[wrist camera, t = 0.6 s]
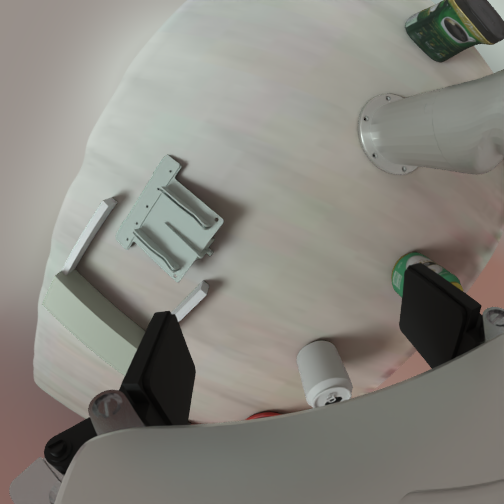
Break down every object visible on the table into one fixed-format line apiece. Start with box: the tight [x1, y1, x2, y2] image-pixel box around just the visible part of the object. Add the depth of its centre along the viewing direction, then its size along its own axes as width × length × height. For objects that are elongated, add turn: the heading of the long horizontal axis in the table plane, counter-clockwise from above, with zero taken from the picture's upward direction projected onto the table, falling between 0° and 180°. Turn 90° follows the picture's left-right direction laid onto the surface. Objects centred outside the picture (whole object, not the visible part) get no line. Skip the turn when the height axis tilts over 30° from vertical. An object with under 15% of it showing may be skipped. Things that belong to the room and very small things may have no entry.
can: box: [297, 341, 353, 408], centre depth 40 cm, size 8×8×12 cm
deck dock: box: [42, 198, 209, 376], centre depth 38 cm, size 23×20×5 cm
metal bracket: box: [116, 155, 224, 282], centre depth 37 cm, size 14×6×15 cm
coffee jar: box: [405, 0, 504, 62], centre depth 19 cm, size 10×8×19 cm
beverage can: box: [391, 252, 463, 297], centre depth 36 cm, size 8×8×12 cm
